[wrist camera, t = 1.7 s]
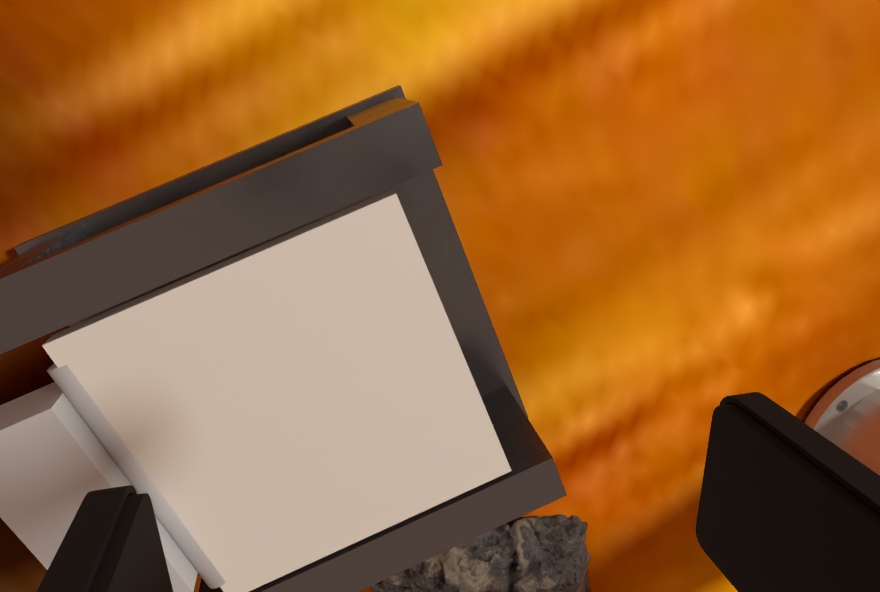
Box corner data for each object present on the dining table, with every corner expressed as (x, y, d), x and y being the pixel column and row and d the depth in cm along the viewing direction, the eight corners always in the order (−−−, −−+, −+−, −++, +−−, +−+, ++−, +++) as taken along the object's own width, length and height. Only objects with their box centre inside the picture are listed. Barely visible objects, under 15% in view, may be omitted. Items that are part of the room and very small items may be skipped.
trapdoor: (389, 184, 25) (399, 198, 22) (499, 446, 30) (518, 484, 27) (-48, 371, 24) (-95, 410, 21) (147, 607, 29) (130, 663, 26)
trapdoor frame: (398, 85, 29) (428, 89, 22) (523, 411, 37) (577, 495, 29) (21, 243, 28) (-81, 303, 21) (231, 543, 36) (211, 665, 28)
